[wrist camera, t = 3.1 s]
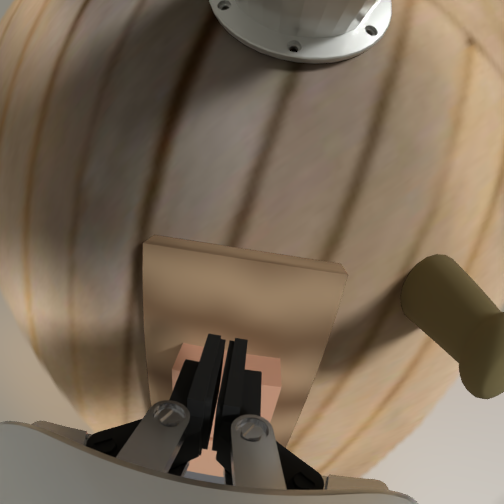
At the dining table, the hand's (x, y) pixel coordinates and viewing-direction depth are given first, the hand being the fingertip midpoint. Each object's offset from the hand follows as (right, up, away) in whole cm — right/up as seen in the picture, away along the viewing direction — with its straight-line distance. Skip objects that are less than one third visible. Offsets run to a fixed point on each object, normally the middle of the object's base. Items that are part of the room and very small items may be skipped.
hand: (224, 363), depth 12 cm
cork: (+15, +2, +8) cm, 18 cm away
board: (-1, -5, +11) cm, 12 cm away
